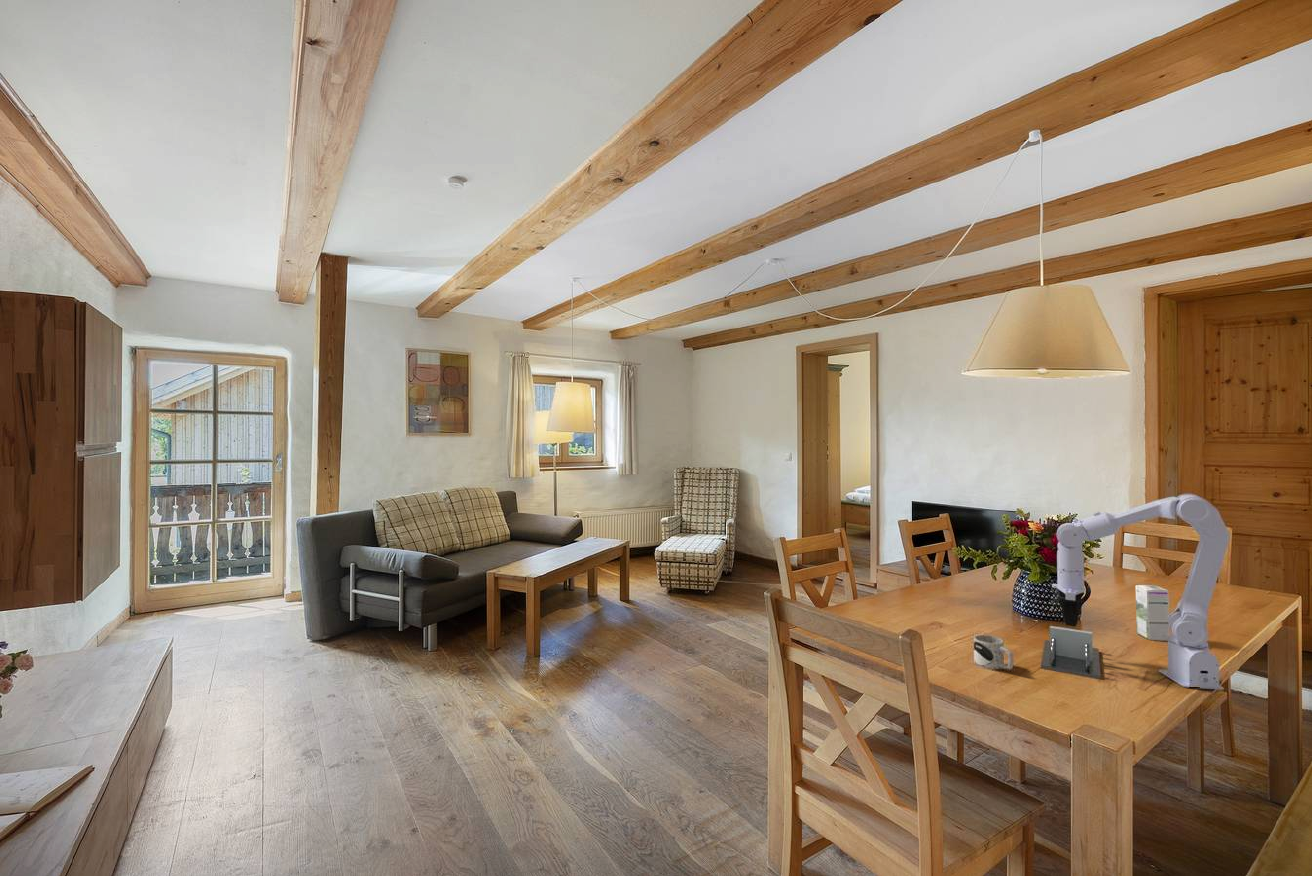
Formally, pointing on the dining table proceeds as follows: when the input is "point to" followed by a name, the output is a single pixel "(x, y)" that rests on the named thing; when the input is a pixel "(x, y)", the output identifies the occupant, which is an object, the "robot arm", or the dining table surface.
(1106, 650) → the dining table surface
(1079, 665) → the rack
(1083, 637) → the plate
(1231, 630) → the dining table surface
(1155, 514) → the robot arm
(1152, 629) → the syrup box
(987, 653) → the mug
